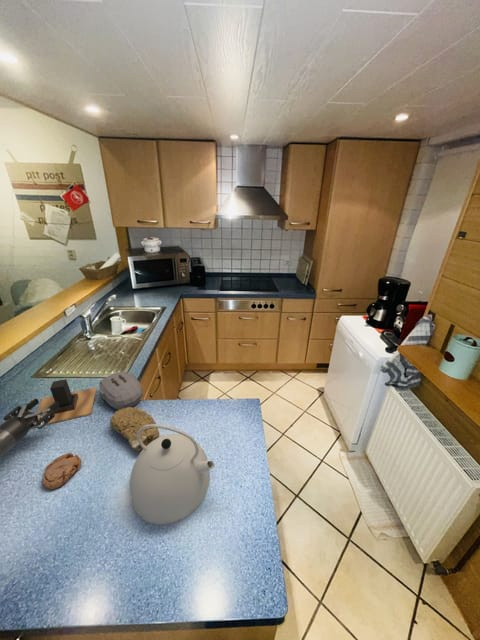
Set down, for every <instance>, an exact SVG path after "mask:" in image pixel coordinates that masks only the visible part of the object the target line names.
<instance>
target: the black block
mask: <svg viewBox="0 0 480 640" xmlns="http://www.w3.org/2000/svg"><path fill="white" fill-rule="evenodd" d="M49 390H50V392H51V395H52V396H53V398H54V400H55V401H57V402H58V403H59V407H63V406H67V405H71V404H72V401H73V397H72V395H71V389H70V385H69V383H68V380H67V378H64V379H59V380H54V381H52V383H51V386H50V387H49Z"/></svg>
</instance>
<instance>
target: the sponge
mask: <svg viewBox="0 0 480 640" xmlns="http://www.w3.org/2000/svg"><path fill="white" fill-rule="evenodd" d="M149 424H157V423H156V421H155V419H154V418H153V417H152V415H151V414H149V413H147V412H146V411H144V410H142V409H140V408H139V407H133V406H132V407H127V408H123V409H119V410H116V411H115V412H114V414H113V415H112V416H111V418H110V420H109V425H110V426H111V428H112V429H113V430H114V431H115V432H117V433H118V434H120V435H122V437H124V438H125V439H127V441H128V442H129V445H130V447H131V448H132V449H134V450H135V451H139V452H140V451H142V450H143V448H142V447H141V446H140V444H139V442H138V440H137V432H138V430H139V429H140V428H141V427H143V426H145V425H149ZM159 437H161V435H160V430H159V428H146V429H143V430H142V431H141V433H140V439H141V441H142V443H143V444H144V445H145V446H147V445H148V444H149V443H151V442H152V441H153V440H155V439H157V438H159Z"/></svg>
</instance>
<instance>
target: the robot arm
mask: <svg viewBox="0 0 480 640" xmlns="http://www.w3.org/2000/svg"><path fill="white" fill-rule="evenodd" d="M39 404H40V401H39V399H38V398H34V399H32V400H31V401H29V402H28V403H26V404H25V405H24V404H23V405H22V406H21V405H16V407H15V408H13V409H12V410H11V411H10V412H8V413H7V414H6V415H4V417H3V423H2V424H0V458H1V457H3V456H4V455H5V454H7V453H8V452H9V451H11V449H13V448H14V447H15V446H16V445H17V444H18V443H19V442H21V440H22V439H23V438H25V437H26V436H27V435H28V433H29V431H30V430H31V429H33V428H32V427H34V426H36V428H37V429H38V430H41V429H43V428H44V427H45V426H47V425H46V424H47V423H48V422H49V421H51V420H52V419H53V418H54V417H55V415H54V411H55V410H56V409H57V408H58V407H59V403H58V402H57V401H55V402H54V403H53V404H52V405H51V406H50V407H48V409H46V410H43V411H38V412H37V411H35V412H34V411H33V412H32V411H31V410H32V409H34V408H35V407H36V406H37V405H39ZM44 413H47V414H46V415H43V414H44ZM37 415H40V418H39V419H38V416H37ZM49 416H50V417H49ZM48 417H49V418H48ZM30 428H31V429H30Z"/></svg>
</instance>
